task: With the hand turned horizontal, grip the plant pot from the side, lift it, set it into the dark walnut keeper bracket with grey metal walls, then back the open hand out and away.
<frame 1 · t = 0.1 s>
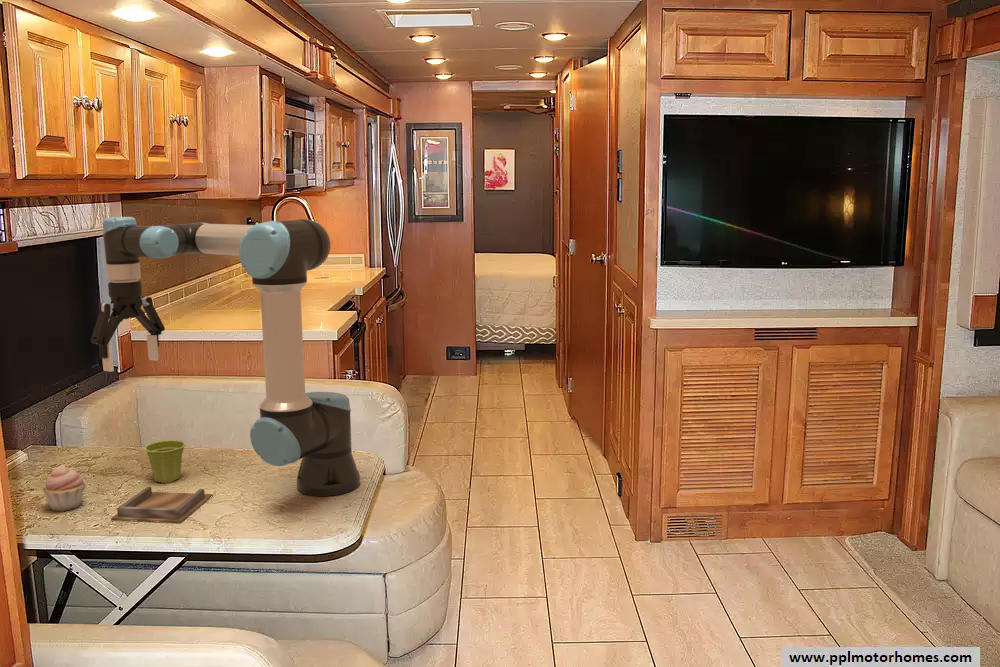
hand: (131, 365, 213), 28 cm above the table, tool pointing down, fingers open, 13 cm apart
plant pot: (167, 479, 214), on the table
keeper bracket: (163, 507, 195), on the table
cupcake: (66, 506, 196), on the table
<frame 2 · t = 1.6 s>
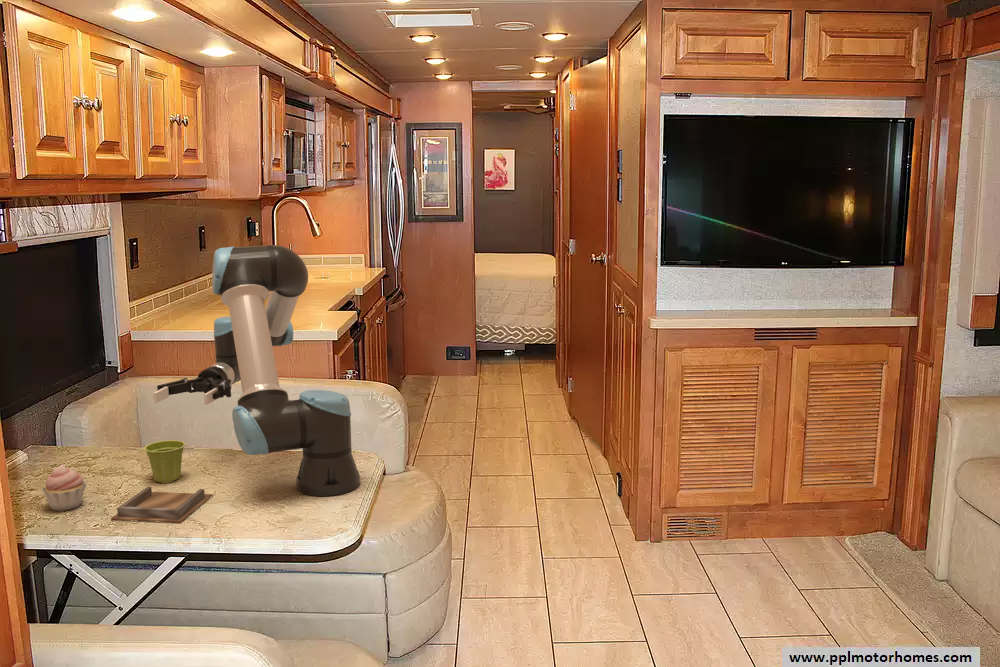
hand: (180, 399, 219), 18 cm above the table, tool horizontal, fingers open, 13 cm apart
nothing on the table moved.
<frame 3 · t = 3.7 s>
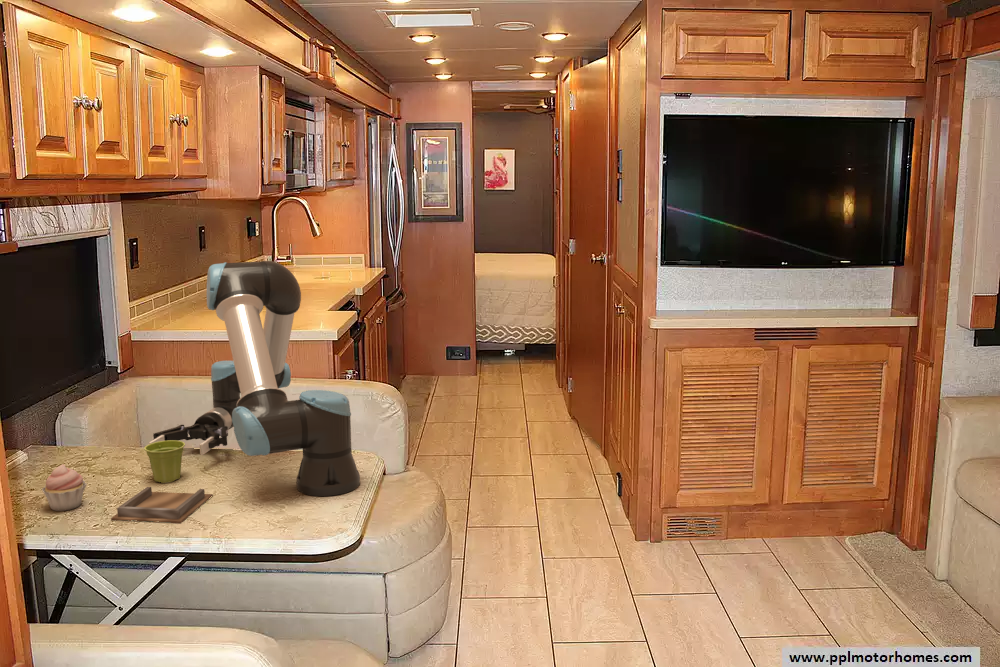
hand: (175, 448, 218), 6 cm above the table, tool horizontal, fingers open, 13 cm apart
nothing on the table moved.
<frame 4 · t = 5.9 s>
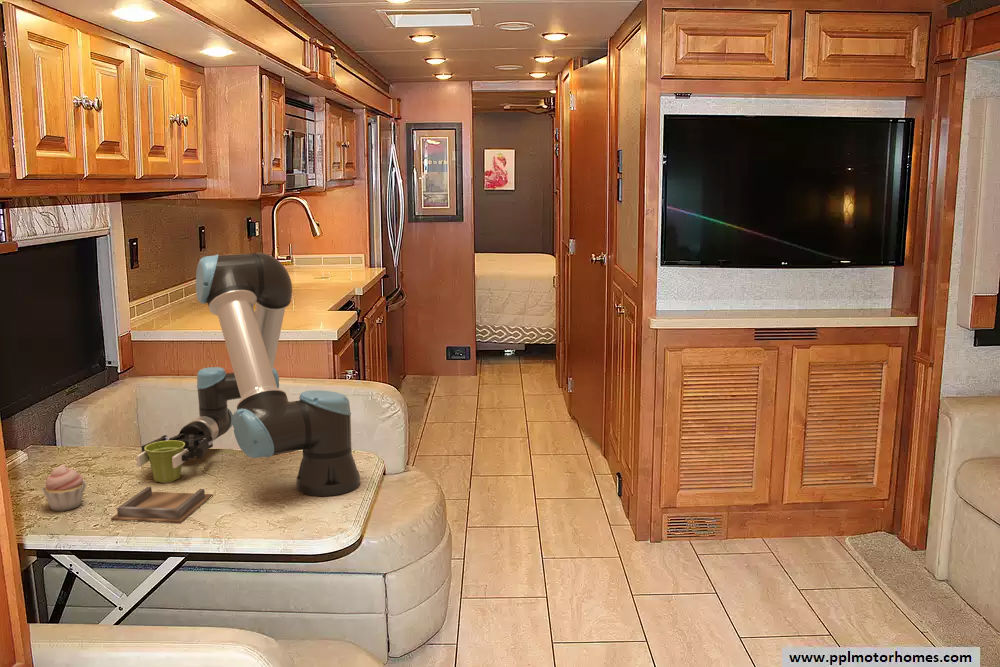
hand: (156, 462, 208), 6 cm above the table, tool horizontal, fingers closed on plant pot, 8 cm apart
plant pot: (167, 479, 214), on the table, touching gripper
everything else where it was.
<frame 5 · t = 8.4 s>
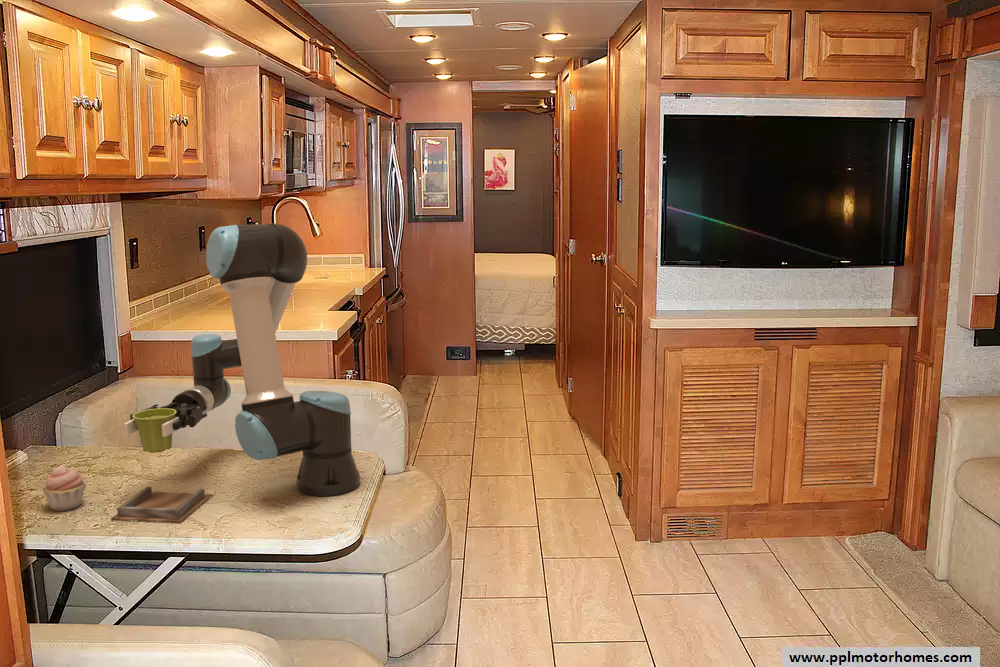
hand: (144, 430, 193), 18 cm above the table, tool horizontal, fingers closed on plant pot, 8 cm apart
plant pot: (157, 450, 199), point 12 cm above the table, touching gripper
everything else where it was.
when the fingers open (8 cm above the table, at t = 11.2 s): plant pot drops 1 cm, resting on keeper bracket.
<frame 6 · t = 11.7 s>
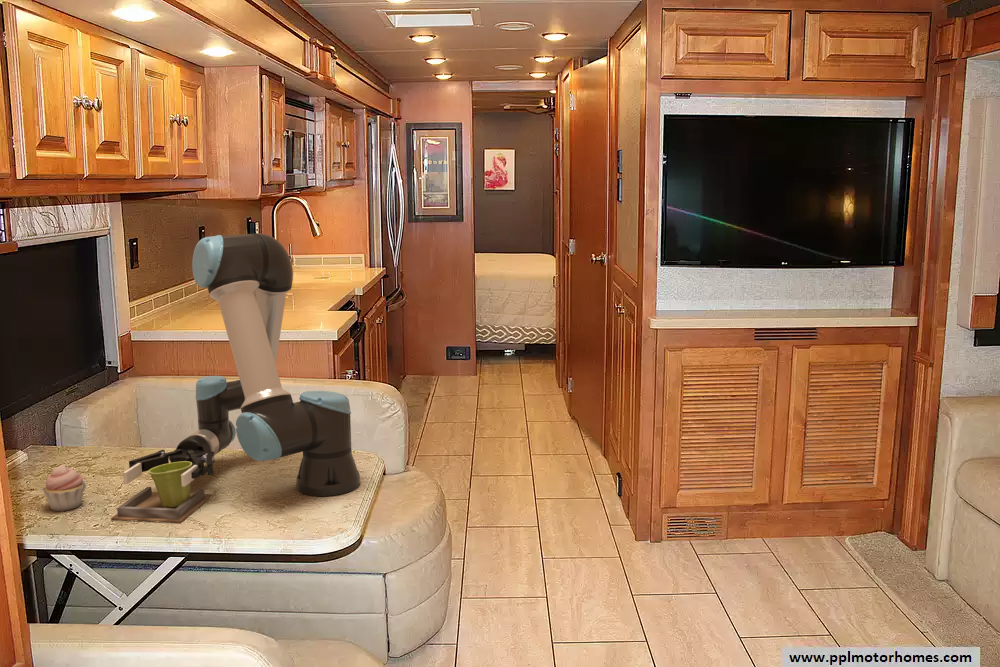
hand: (153, 479, 191), 8 cm above the table, tool horizontal, fingers open, 13 cm apart
plant pot: (176, 504, 195), point 1 cm above the table, touching gripper, keeper bracket
everything else where it was.
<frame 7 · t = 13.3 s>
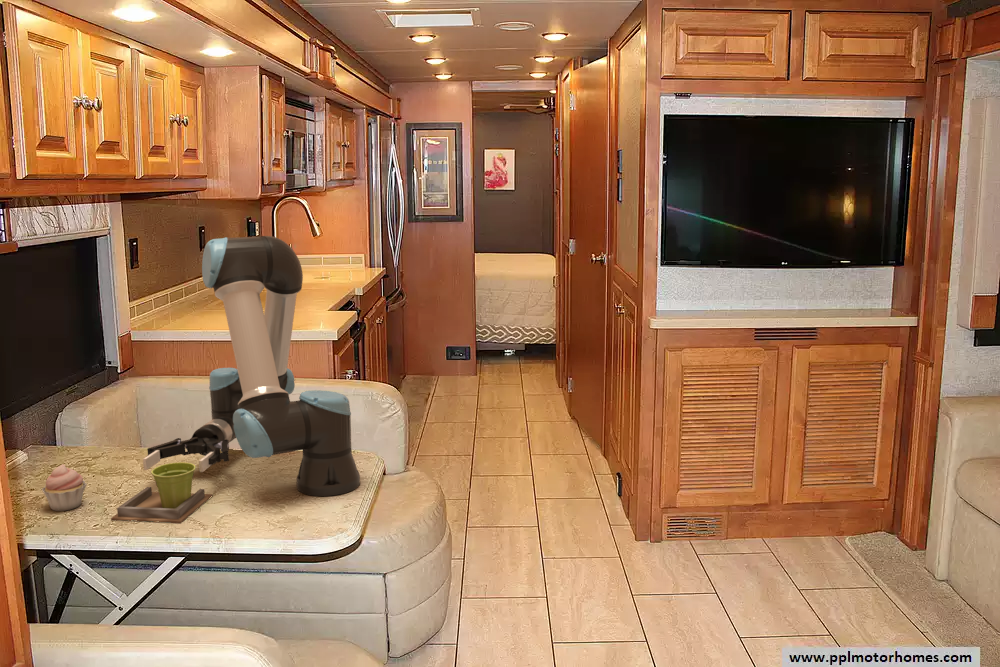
hand: (172, 465, 199), 8 cm above the table, tool horizontal, fingers open, 13 cm apart
plant pot: (176, 505, 196), resting on keeper bracket
everything else where it was.
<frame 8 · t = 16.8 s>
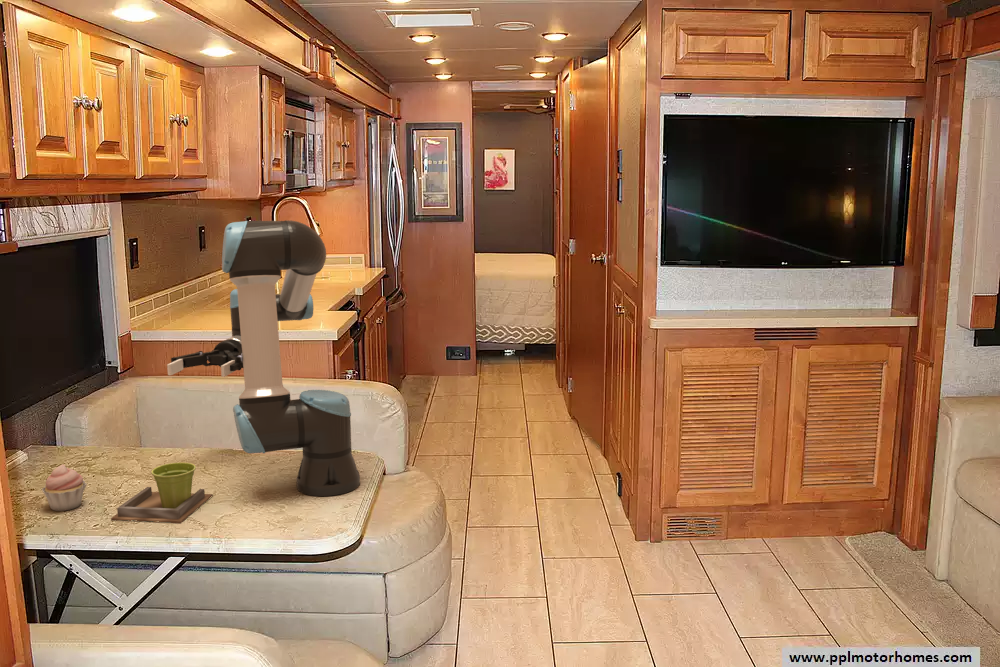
hand: (195, 370, 207), 28 cm above the table, tool horizontal, fingers open, 13 cm apart
nothing on the table moved.
at the end: plant pot 2.8 cm off-centre on the keeper bracket, point 0.3 cm above the keeper bracket's base; plant pot tilted 0°; the gripper is holding nothing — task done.
